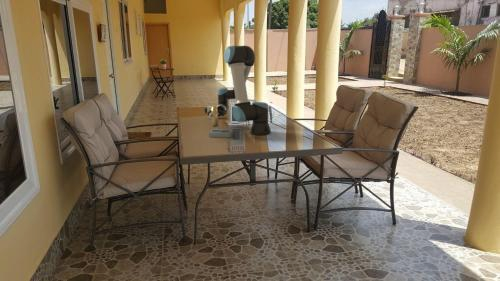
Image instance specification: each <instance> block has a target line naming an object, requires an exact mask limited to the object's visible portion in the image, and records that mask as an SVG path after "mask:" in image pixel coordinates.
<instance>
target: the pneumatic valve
mask: <svg viewBox="0 0 500 281" xmlns="http://www.w3.org/2000/svg"><path fill="white" fill-rule="evenodd" d="M211 107H217V106H216V105H213V106H212V104H211V105H210V106H205V107H204V108H203V109H204V114H206V115H208V112H209V111H210V110H212V109H211ZM208 119H209V120H212V117H211V118H209V117H208Z"/></svg>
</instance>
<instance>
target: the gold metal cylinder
mask: <svg viewBox="0 0 500 281" xmlns="http://www.w3.org/2000/svg"><path fill="white" fill-rule="evenodd" d="M211 109H212V119H211V125H212V126H211V127H212V128H218V127H219V117H218V118H216V114H217V113H218V107H217V106H216V107H211Z"/></svg>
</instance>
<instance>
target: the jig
mask: <svg viewBox="0 0 500 281" xmlns="http://www.w3.org/2000/svg"><path fill="white" fill-rule="evenodd" d="M232 135H233V129H225V128H224V129H222V128H221V129H218V128H217V129H215V128H212V129H211V130H210V131H209V132H208V137H209V138H227V137H232Z"/></svg>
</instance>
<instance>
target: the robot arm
mask: <svg viewBox="0 0 500 281" xmlns="http://www.w3.org/2000/svg"><path fill="white" fill-rule="evenodd" d="M223 60H224V63H226V64H227V65H228V67H229V68H230V71H231V76H232V77H231V78H232V84H233V89H228V88H227V87H219V88H218V89H217V106H216V107H218V113H217V114H216V118H218V119H219V117H224V116H225V115H227V114H228V110H229V109H230V108H229V104H228V103H229V102H228V100H235V102H234V106H233V107H232V112H231V114H232V117H233V119H234V120H235V121H236V122H238V123H244V122H250V121H252V124H251V127H250V130H249V131H250V132H249V133H250V134H251V135H253V136H267V135H270V134H271V131H272V130H271V127H270V124H269V105H268V104H269V103H266V102H262V101H252V102H251V101H250V100H249V97H248V91H247V86H246V83H247V80H248V77H249V75H250V72H251V68H252V67H253V66H254V65H255V61H256V52H255V51H254V50H253V48H252V47H250V46H249V45H230V46H227V47H225V49H224V53H223ZM207 116H208V119H209V118H211V117H212V110H210V111H209V112H208V114H207Z"/></svg>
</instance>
